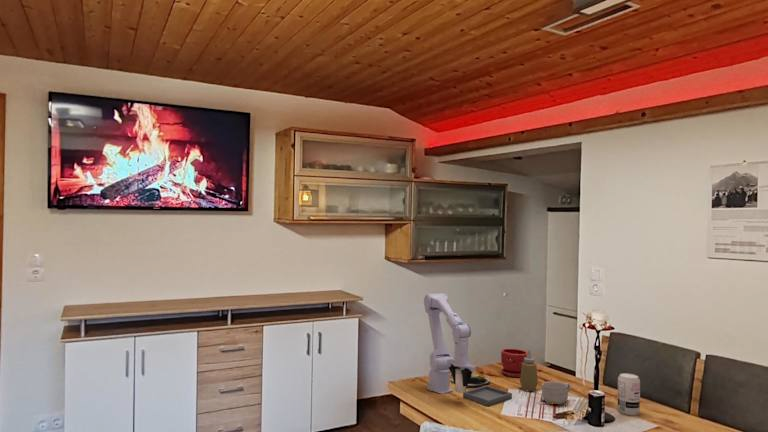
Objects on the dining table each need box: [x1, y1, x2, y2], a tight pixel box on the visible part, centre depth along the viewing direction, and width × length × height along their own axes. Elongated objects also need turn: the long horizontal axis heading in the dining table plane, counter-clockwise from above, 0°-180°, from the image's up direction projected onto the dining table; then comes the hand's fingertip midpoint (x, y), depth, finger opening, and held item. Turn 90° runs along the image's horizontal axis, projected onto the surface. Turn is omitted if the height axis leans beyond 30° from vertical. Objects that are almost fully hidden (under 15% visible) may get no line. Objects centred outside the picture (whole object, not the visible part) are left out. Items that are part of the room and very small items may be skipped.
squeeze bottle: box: [519, 349, 539, 392], centre depth 247 cm, size 8×8×18 cm
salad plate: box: [450, 373, 491, 389], centre depth 258 cm, size 19×18×5 cm
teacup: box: [541, 381, 572, 406], centre depth 230 cm, size 14×11×8 cm
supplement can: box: [617, 372, 641, 417], centre depth 218 cm, size 8×8×15 cm
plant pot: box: [500, 348, 528, 378], centre depth 271 cm, size 13×13×12 cm
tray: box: [462, 385, 513, 407], centre depth 233 cm, size 14×16×2 cm
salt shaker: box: [454, 368, 467, 394], centre depth 228 cm, size 5×5×9 cm
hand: (460, 384), depth 228 cm, fingers closed on salt shaker, 5 cm apart
